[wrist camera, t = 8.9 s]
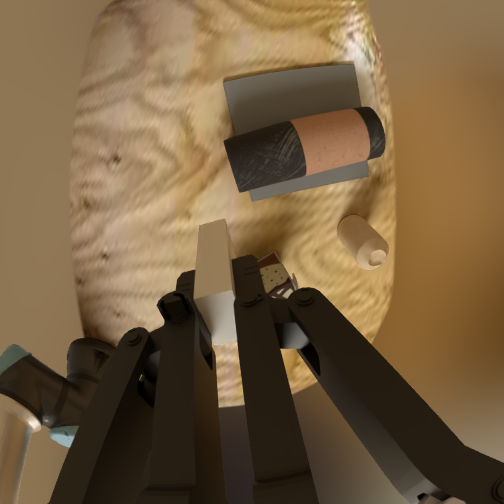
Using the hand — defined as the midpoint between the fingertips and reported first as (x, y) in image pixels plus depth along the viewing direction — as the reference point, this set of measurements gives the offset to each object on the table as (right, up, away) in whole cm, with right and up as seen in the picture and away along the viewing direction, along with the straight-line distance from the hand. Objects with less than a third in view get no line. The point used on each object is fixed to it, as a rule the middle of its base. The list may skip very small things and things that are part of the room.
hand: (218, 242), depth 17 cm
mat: (+9, +17, +22) cm, 29 cm away
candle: (+19, +4, +31) cm, 37 cm away
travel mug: (-1, +10, +19) cm, 22 cm away
